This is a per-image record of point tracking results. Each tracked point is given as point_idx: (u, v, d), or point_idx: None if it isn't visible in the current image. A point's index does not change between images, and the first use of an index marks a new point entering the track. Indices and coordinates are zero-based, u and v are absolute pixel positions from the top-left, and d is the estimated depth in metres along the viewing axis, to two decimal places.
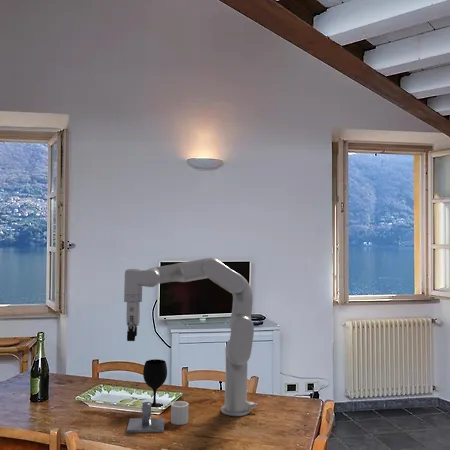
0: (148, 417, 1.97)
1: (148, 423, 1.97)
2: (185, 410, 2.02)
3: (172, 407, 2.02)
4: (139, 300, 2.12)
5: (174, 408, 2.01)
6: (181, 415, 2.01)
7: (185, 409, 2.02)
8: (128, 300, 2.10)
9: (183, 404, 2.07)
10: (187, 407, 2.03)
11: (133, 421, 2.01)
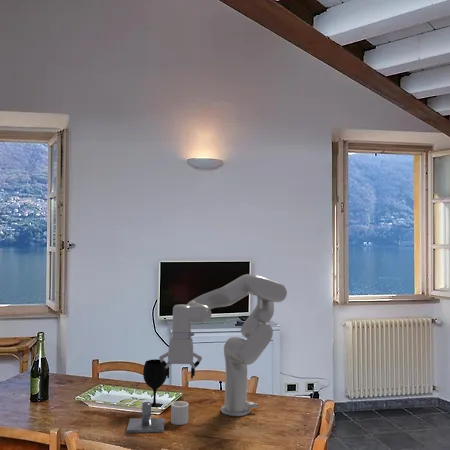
0: (148, 417, 1.97)
1: (148, 423, 1.97)
2: (185, 410, 2.02)
3: (172, 407, 2.02)
4: None
5: (174, 408, 2.01)
6: (181, 415, 2.01)
7: (185, 409, 2.02)
8: (189, 337, 2.03)
9: (183, 404, 2.07)
10: (187, 407, 2.03)
11: (133, 421, 2.01)
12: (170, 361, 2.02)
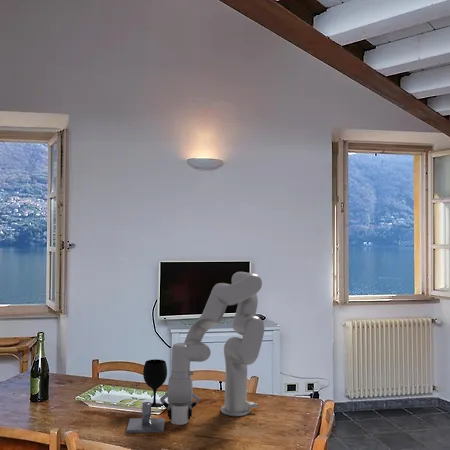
0: (148, 417, 1.97)
1: (148, 423, 1.97)
2: (185, 410, 2.02)
3: (172, 407, 2.02)
4: None
5: (174, 408, 2.01)
6: (181, 415, 2.01)
7: (185, 409, 2.02)
8: (189, 376, 2.03)
9: (183, 404, 2.07)
10: (187, 407, 2.03)
11: (133, 421, 2.01)
12: (169, 401, 2.02)
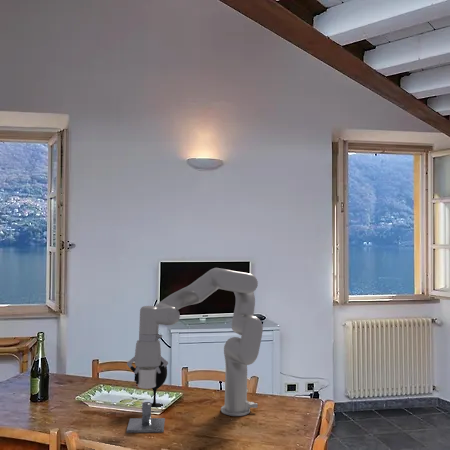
0: (148, 417, 1.97)
1: (148, 423, 1.97)
2: (153, 374, 1.96)
3: (140, 371, 1.96)
4: None
5: (142, 372, 1.95)
6: (149, 379, 1.95)
7: (153, 373, 1.96)
8: (157, 339, 1.98)
9: (150, 368, 2.01)
10: (155, 371, 1.97)
11: (133, 421, 2.01)
12: (137, 365, 1.96)
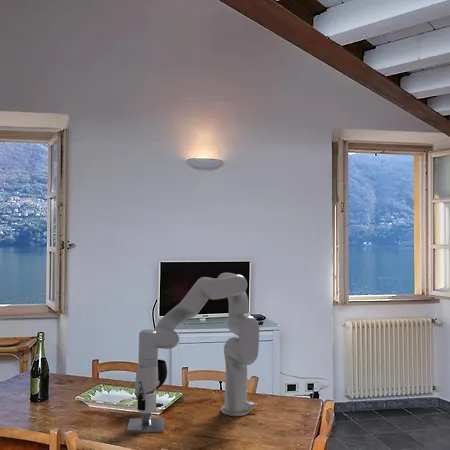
0: (148, 417, 1.97)
1: (148, 423, 1.97)
2: None
3: (147, 396, 1.95)
4: None
5: (150, 396, 1.95)
6: (155, 401, 1.97)
7: None
8: None
9: None
10: None
11: (133, 421, 2.01)
12: (145, 391, 1.94)
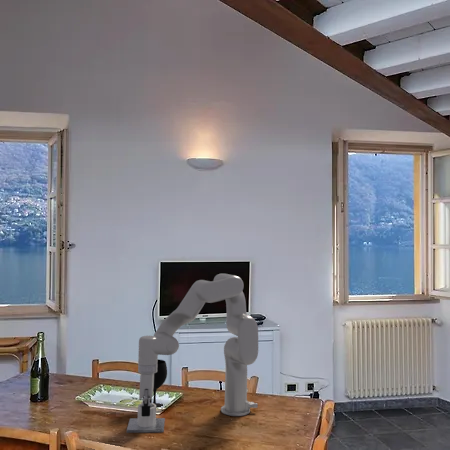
0: None
1: None
2: None
3: (151, 410, 1.96)
4: None
5: (153, 409, 1.96)
6: None
7: None
8: None
9: (141, 407, 2.00)
10: None
11: (133, 421, 2.01)
12: (151, 397, 1.94)
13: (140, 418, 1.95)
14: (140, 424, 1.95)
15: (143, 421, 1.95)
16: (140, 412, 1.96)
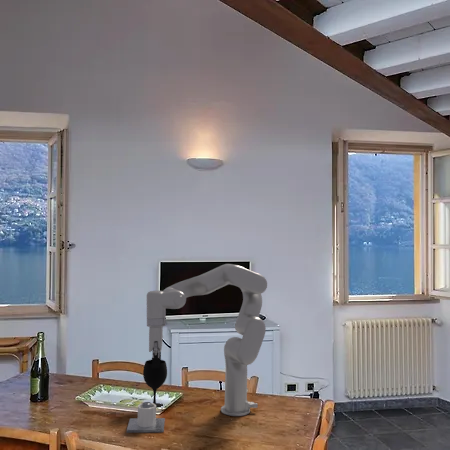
0: None
1: None
2: None
3: (151, 410, 1.96)
4: None
5: (153, 409, 1.96)
6: None
7: None
8: None
9: (141, 407, 2.00)
10: None
11: (133, 421, 2.01)
12: None
13: (140, 418, 1.95)
14: (140, 424, 1.95)
15: (143, 421, 1.95)
16: (140, 412, 1.96)
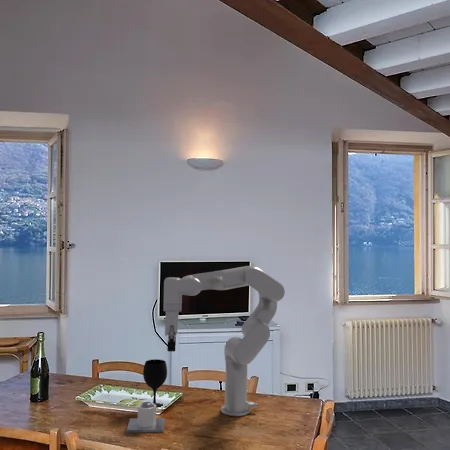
0: None
1: None
2: None
3: (151, 410, 1.96)
4: None
5: (153, 409, 1.96)
6: None
7: None
8: None
9: (141, 407, 2.00)
10: None
11: (133, 421, 2.01)
12: (176, 333, 2.05)
13: (140, 418, 1.95)
14: (140, 424, 1.95)
15: (143, 421, 1.95)
16: (140, 412, 1.96)
